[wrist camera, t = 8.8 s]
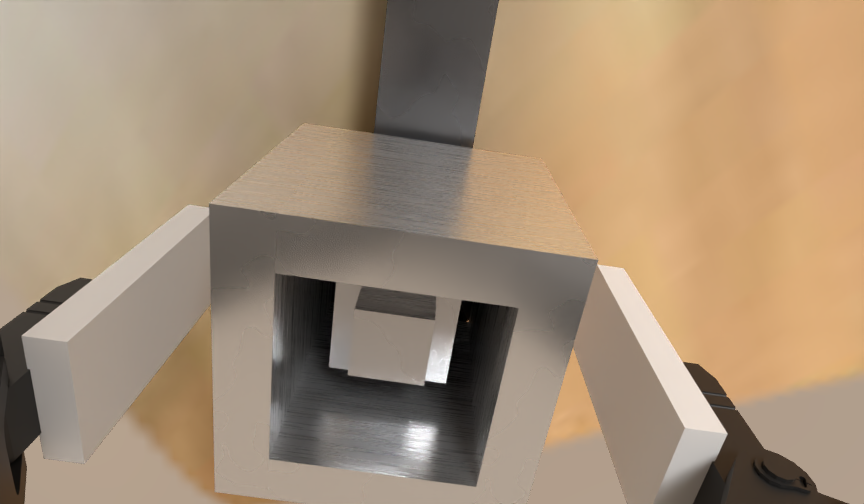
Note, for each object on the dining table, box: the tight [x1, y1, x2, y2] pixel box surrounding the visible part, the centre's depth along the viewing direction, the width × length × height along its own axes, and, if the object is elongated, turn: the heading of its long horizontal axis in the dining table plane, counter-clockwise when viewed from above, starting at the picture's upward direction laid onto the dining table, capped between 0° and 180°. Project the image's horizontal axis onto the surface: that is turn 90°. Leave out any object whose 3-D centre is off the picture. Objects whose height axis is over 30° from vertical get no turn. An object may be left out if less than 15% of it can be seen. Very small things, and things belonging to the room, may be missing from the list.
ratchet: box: [329, 0, 499, 386], centre depth 14 cm, size 20×6×8 cm, turn 172°
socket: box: [209, 123, 598, 504], centre depth 15 cm, size 7×7×7 cm
